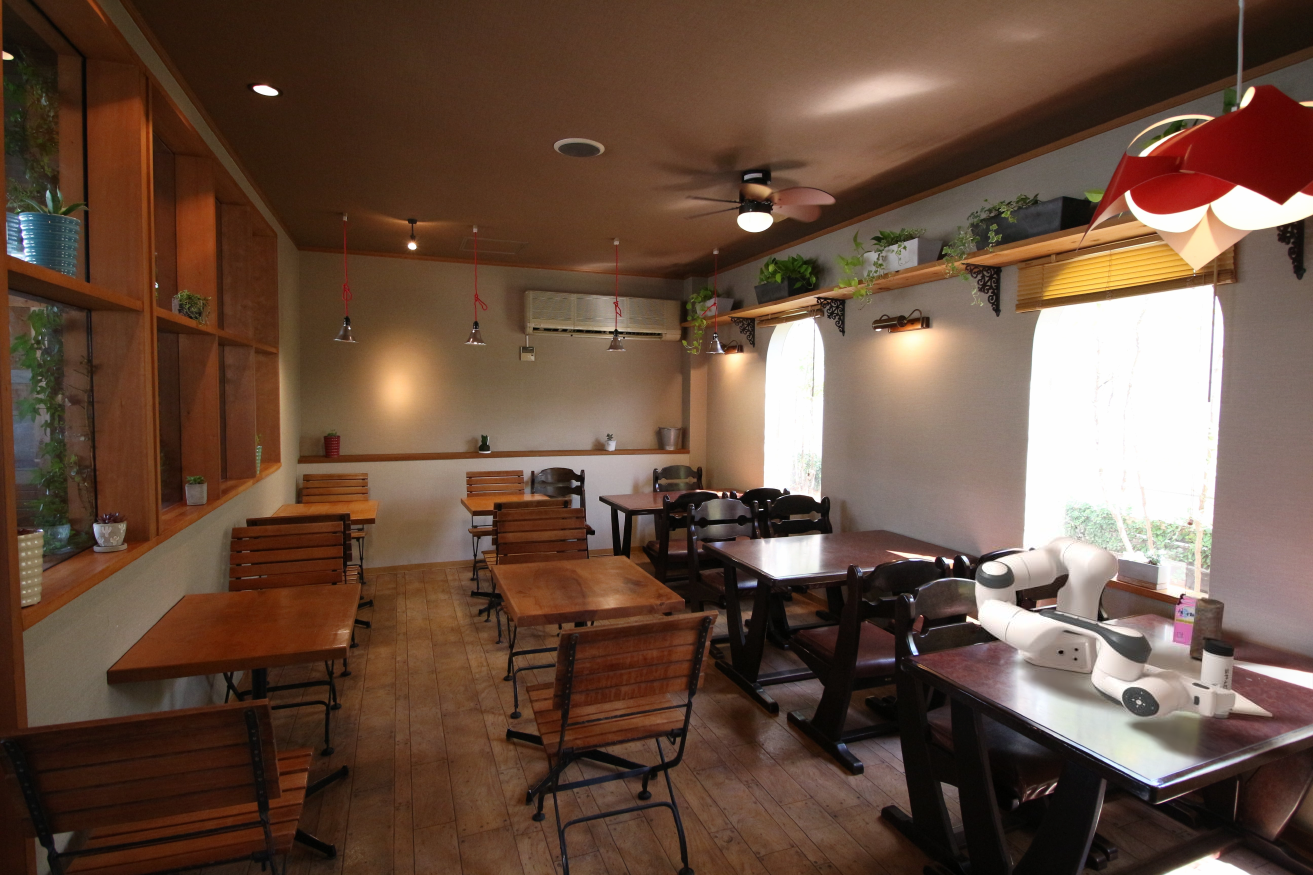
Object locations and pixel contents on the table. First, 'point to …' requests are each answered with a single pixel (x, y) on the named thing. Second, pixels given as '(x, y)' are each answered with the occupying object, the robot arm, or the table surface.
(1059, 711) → the table surface
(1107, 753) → the table surface
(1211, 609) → the candle
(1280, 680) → the table surface
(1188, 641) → the gum box
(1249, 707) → the mat
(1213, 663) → the travel mug
